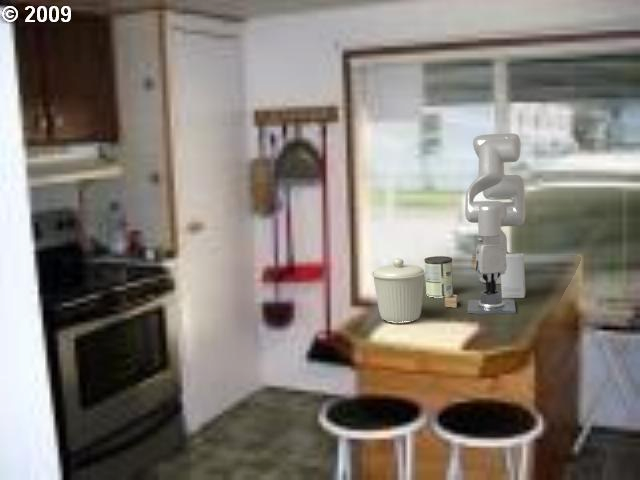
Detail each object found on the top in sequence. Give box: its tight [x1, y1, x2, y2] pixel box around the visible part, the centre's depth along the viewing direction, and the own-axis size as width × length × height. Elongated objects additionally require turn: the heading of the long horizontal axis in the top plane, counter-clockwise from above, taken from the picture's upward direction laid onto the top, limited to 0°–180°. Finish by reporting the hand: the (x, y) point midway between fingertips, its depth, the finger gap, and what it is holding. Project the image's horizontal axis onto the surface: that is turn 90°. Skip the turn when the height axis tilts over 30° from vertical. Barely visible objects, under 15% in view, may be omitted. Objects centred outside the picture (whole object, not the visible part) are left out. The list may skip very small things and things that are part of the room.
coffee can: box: [424, 255, 454, 299], centre depth 298 cm, size 10×10×14 cm
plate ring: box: [479, 289, 503, 305], centre depth 275 cm, size 7×7×4 cm
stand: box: [444, 292, 458, 308], centre depth 282 cm, size 6×4×4 cm, turn 168°
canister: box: [371, 257, 426, 322], centre depth 265 cm, size 18×18×21 cm
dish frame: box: [471, 252, 517, 270], centre depth 353 cm, size 20×19×3 cm
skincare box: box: [500, 253, 526, 299], centre depth 289 cm, size 8×7×16 cm
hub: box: [467, 298, 517, 315], centre depth 275 cm, size 16×16×4 cm
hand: (491, 292), depth 275 cm, fingers closed
